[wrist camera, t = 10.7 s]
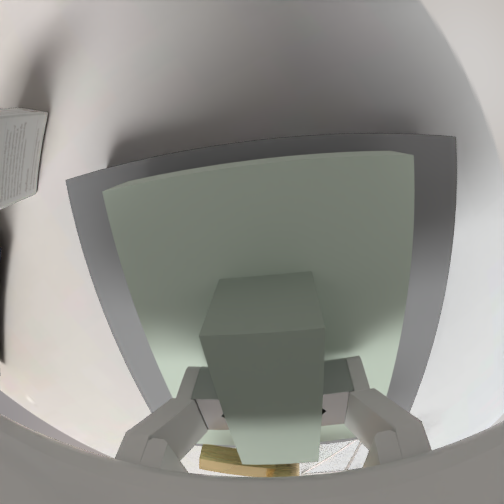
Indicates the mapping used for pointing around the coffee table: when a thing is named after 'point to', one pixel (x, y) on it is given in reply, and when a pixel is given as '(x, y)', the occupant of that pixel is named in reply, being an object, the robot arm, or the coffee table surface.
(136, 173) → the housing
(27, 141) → the skincare box
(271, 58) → the coffee table surface
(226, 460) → the t key
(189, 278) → the cover
